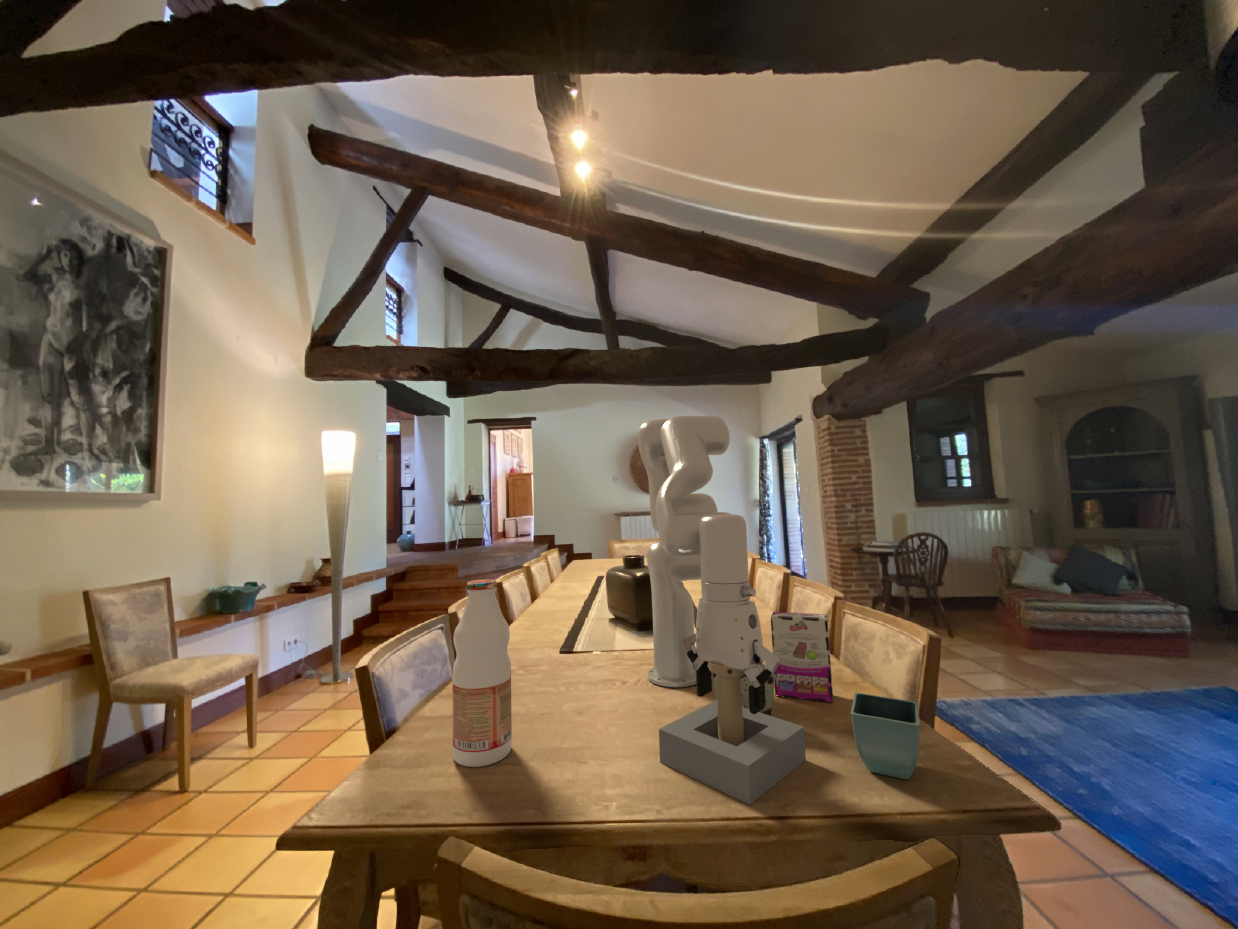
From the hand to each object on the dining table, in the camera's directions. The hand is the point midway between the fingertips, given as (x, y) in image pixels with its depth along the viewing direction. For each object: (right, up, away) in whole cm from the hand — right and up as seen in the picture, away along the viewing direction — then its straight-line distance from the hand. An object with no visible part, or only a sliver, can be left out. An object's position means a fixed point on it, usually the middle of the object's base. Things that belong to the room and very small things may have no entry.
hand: (729, 702), depth 78 cm
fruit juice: (-40, -10, +4) cm, 41 cm away
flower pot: (+23, -8, -4) cm, 25 cm away
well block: (0, -9, -1) cm, 9 cm away
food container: (+6, -10, +13) cm, 18 cm away
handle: (0, -9, -1) cm, 9 cm away
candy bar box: (+21, -11, +24) cm, 33 cm away
